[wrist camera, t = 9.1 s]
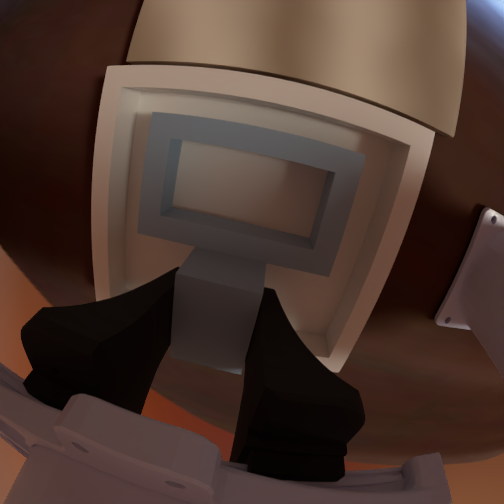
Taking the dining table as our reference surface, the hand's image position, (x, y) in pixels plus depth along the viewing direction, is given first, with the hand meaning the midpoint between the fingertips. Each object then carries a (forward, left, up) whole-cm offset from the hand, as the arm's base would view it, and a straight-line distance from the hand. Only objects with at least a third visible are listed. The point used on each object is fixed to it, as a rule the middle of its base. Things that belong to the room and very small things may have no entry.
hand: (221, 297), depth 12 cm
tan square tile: (-1, -17, -3) cm, 17 cm away
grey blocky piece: (0, -2, -2) cm, 3 cm away
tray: (0, -3, -3) cm, 4 cm away
